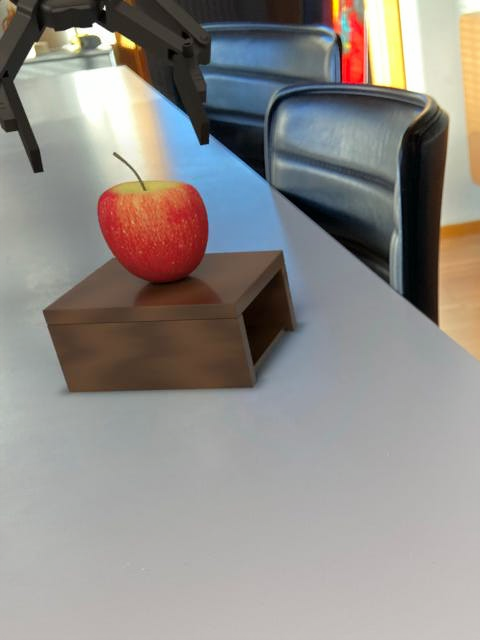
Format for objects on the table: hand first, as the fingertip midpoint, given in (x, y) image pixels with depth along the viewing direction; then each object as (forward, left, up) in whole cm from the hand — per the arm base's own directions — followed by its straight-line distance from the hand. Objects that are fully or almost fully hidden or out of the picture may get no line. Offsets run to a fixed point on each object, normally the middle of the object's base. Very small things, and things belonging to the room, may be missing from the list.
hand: (123, 147), depth 82 cm
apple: (+2, -3, -10) cm, 10 cm away
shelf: (+2, -3, -17) cm, 17 cm away
